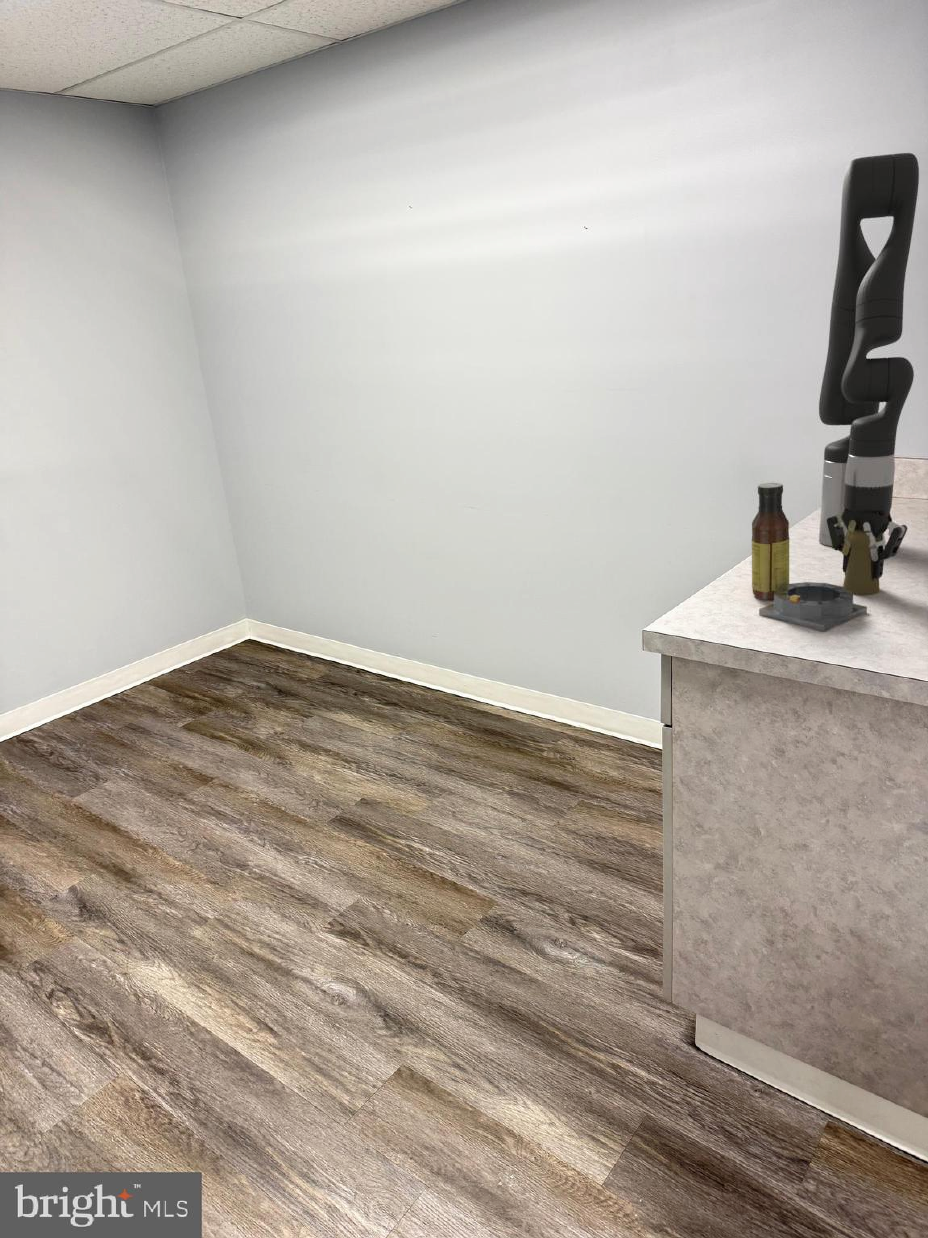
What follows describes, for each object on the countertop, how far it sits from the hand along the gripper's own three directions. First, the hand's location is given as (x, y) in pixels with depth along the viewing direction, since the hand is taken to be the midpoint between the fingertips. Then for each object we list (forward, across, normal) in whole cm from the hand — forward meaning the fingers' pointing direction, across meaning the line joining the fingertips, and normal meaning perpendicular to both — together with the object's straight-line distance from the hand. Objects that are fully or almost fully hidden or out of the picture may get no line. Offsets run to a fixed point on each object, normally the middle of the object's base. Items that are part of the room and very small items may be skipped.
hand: (861, 577), depth 157 cm
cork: (+2, 0, 0) cm, 2 cm away
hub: (+2, -1, +16) cm, 16 cm away
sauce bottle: (+2, +10, +13) cm, 16 cm away
